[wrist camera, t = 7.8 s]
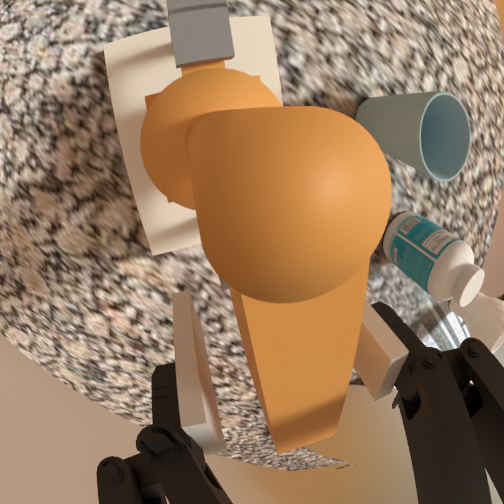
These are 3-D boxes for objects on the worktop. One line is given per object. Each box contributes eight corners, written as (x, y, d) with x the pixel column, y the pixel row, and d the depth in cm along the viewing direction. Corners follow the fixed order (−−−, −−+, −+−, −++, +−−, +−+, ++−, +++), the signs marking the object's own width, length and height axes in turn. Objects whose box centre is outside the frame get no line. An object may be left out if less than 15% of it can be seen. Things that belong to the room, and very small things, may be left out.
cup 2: (474, 292, 49) (514, 329, 36) (445, 322, 50) (484, 364, 37) (474, 265, 44) (522, 305, 31) (443, 298, 45) (490, 345, 32)
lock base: (107, 48, 16) (58, 9, 7) (264, 20, 18) (321, -28, 9) (153, 248, 26) (144, 328, 17) (289, 216, 28) (346, 275, 19)
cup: (383, 167, 28) (451, 197, 19) (334, 134, 25) (405, 153, 16) (407, 114, 26) (478, 128, 17) (362, 75, 23) (437, 73, 14)
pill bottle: (402, 264, 36) (464, 320, 25) (371, 251, 34) (441, 316, 22) (426, 219, 34) (496, 266, 22) (398, 200, 31) (480, 251, 19)
